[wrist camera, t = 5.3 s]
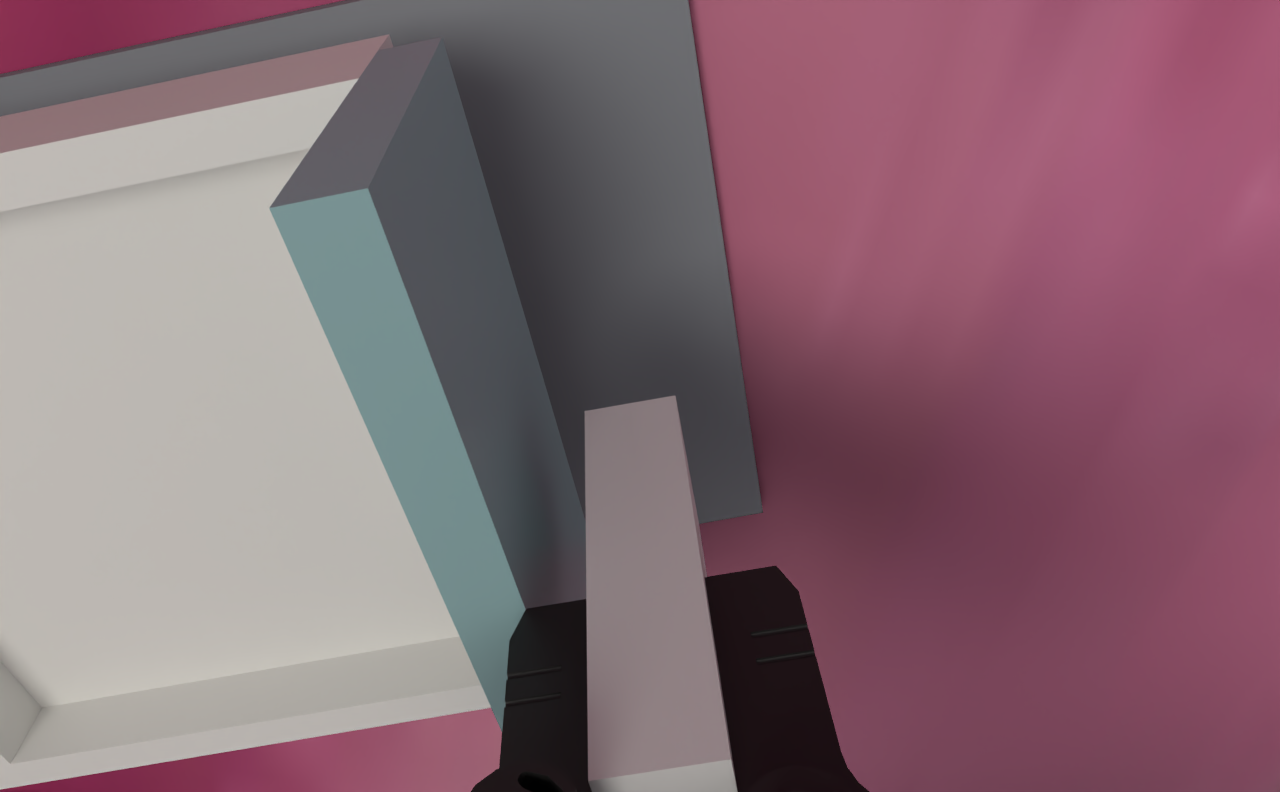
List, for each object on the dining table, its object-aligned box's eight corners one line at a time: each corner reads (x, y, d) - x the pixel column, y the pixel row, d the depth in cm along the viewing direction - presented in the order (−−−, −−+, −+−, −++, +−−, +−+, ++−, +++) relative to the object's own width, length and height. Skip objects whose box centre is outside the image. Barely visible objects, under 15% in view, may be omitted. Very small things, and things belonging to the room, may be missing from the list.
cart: (614, 543, 24) (631, 891, 17) (83, 637, 25) (-126, 1008, 17) (462, -5, 16) (368, 189, 9) (-298, 157, 17) (-958, 456, 10)
